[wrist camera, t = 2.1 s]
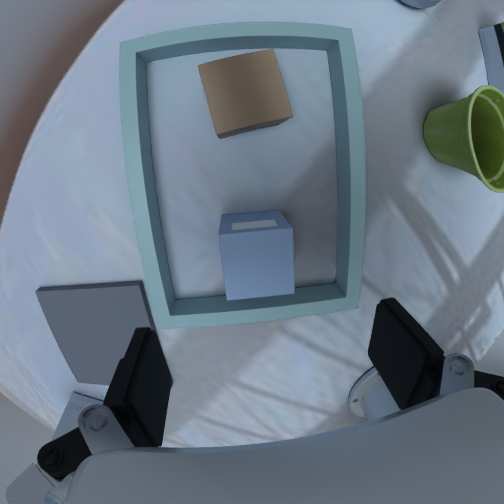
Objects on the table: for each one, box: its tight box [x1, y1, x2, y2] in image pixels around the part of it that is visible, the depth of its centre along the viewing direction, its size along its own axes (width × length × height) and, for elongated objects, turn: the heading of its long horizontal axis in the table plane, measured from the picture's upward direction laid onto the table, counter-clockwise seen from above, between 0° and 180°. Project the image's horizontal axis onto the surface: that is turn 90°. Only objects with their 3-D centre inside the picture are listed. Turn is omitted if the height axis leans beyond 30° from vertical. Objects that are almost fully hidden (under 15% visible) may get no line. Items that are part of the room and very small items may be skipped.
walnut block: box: [198, 49, 293, 139], centre depth 18 cm, size 5×5×6 cm
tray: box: [119, 22, 366, 329], centre depth 22 cm, size 19×25×3 cm
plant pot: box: [423, 85, 504, 193], centre depth 19 cm, size 9×9×9 cm
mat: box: [35, 281, 173, 388], centre depth 27 cm, size 14×14×1 cm
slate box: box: [219, 210, 294, 300], centre depth 22 cm, size 5×5×6 cm
